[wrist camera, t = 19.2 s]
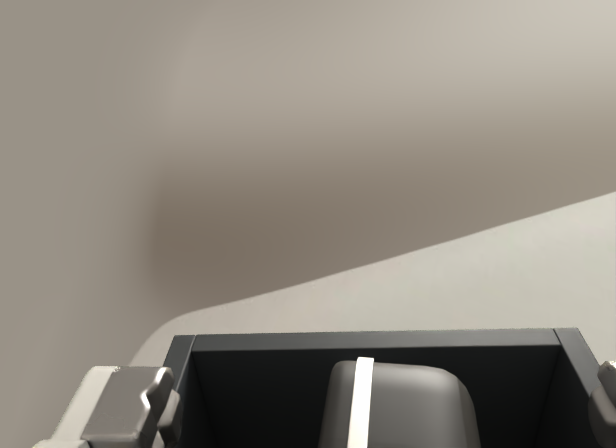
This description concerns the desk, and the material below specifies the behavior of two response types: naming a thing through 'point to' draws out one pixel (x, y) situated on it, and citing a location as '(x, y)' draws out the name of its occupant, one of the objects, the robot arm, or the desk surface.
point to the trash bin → (384, 349)
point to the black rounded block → (396, 408)
